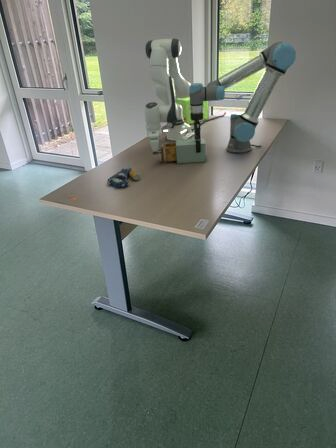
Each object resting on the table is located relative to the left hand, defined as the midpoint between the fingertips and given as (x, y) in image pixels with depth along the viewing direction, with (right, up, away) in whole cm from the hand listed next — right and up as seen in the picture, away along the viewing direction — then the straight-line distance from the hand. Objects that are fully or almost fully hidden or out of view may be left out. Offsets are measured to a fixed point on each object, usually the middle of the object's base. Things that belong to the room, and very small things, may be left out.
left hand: (156, 154), depth 206 cm
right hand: (+25, +2, -2) cm, 25 cm away
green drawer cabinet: (+21, -3, +2) cm, 22 cm away
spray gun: (-17, -19, -19) cm, 31 cm away
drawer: (+9, -3, +2) cm, 9 cm away
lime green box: (+26, +47, +83) cm, 99 cm away
